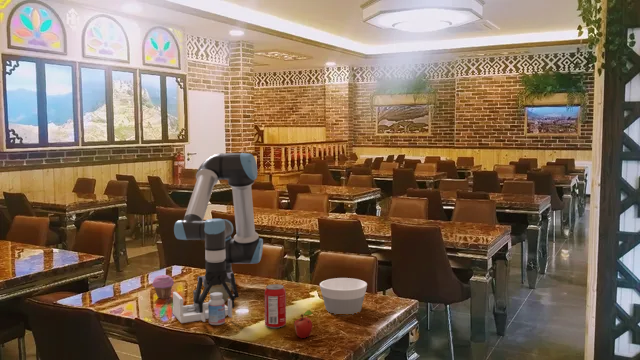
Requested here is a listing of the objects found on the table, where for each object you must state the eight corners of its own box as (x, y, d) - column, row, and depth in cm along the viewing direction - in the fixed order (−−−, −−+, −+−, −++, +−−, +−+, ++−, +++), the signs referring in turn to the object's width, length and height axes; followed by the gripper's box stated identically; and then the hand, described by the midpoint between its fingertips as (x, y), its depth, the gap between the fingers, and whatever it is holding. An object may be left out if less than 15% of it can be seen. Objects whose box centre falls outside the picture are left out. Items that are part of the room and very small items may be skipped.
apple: (290, 339, 200) (289, 311, 199) (297, 333, 206) (297, 305, 206) (310, 342, 197) (310, 313, 196) (318, 335, 204) (317, 307, 203)
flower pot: (236, 299, 250) (235, 282, 249) (225, 305, 240) (224, 288, 240) (215, 297, 253) (215, 281, 252) (204, 303, 243) (203, 286, 243)
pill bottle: (221, 326, 214) (221, 296, 214) (206, 325, 216) (205, 295, 215) (227, 320, 220) (226, 292, 220) (212, 319, 222) (211, 291, 221)
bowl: (342, 300, 247) (342, 275, 246) (377, 309, 233) (377, 283, 232) (309, 310, 233) (309, 283, 233) (344, 320, 220) (344, 292, 219)
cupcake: (161, 301, 247) (160, 278, 246) (148, 298, 252) (148, 275, 251) (178, 296, 254) (177, 274, 253) (165, 293, 259) (164, 271, 259)
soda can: (268, 330, 209) (268, 290, 208) (262, 324, 216) (261, 285, 215) (289, 327, 212) (288, 287, 211) (281, 321, 219) (281, 282, 218)
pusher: (196, 309, 233) (196, 289, 232) (204, 316, 224) (203, 296, 223) (184, 311, 231) (183, 291, 230) (191, 318, 221) (190, 298, 221)
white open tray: (219, 306, 239) (218, 285, 238) (229, 315, 227) (229, 293, 226) (172, 313, 230) (172, 291, 229) (181, 323, 218) (180, 299, 217)
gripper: (240, 255, 225) (241, 311, 226) (183, 261, 214) (184, 320, 216) (247, 259, 218) (248, 316, 220) (188, 265, 208) (190, 326, 209)
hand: (216, 318), depth 218 cm, fingers open, 10 cm apart
